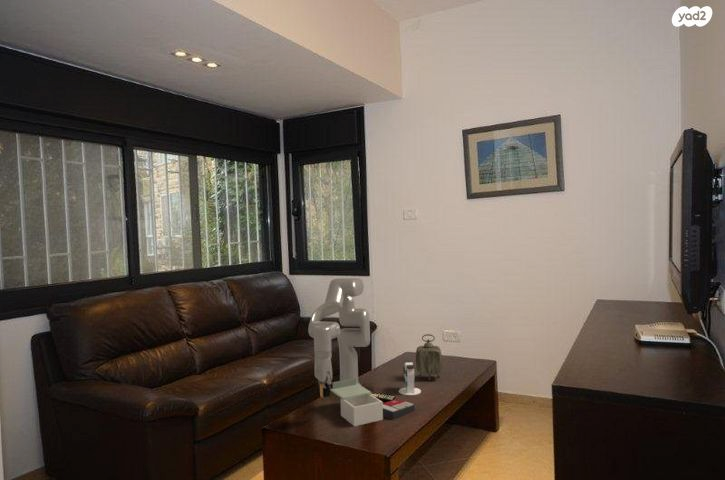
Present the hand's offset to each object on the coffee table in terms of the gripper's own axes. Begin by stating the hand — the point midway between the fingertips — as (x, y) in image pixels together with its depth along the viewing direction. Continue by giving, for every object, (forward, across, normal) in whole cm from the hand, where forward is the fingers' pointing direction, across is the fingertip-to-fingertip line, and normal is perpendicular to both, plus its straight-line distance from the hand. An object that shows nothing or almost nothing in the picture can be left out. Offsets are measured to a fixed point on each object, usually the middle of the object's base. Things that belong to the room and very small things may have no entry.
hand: (324, 394), depth 211 cm
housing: (+12, +5, +15) cm, 20 cm away
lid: (+4, -6, +16) cm, 17 cm away
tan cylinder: (+1, 0, 0) cm, 1 cm away
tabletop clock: (+14, -24, +72) cm, 78 cm away
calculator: (+13, +7, +32) cm, 35 cm away
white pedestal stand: (+13, -13, +52) cm, 56 cm away
